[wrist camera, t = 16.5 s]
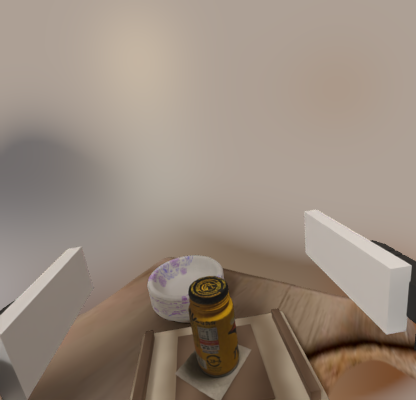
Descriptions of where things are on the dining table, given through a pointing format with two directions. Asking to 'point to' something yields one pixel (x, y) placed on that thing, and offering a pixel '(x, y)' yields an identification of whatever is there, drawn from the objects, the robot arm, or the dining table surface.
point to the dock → (249, 372)
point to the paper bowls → (178, 284)
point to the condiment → (212, 338)
